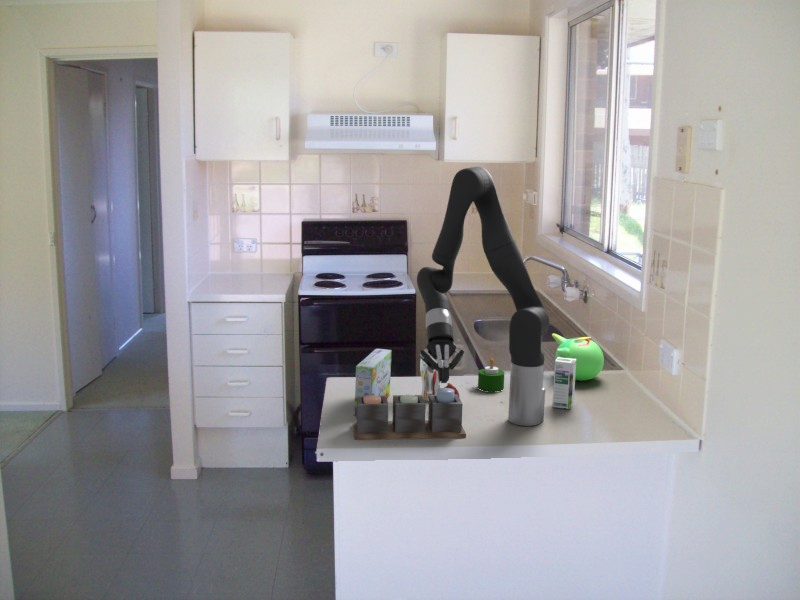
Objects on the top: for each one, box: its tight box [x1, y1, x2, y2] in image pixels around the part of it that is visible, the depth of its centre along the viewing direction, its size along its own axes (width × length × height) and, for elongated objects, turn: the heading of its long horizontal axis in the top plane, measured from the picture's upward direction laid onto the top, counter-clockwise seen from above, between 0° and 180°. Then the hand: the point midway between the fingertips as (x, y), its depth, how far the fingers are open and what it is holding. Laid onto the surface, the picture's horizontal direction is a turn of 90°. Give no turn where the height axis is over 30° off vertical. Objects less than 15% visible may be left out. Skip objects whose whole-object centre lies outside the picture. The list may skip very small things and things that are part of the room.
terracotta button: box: [363, 395, 381, 404], centre depth 228 cm, size 5×5×4 cm
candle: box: [477, 358, 505, 393], centre depth 268 cm, size 8×8×10 cm
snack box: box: [354, 348, 393, 416], centre depth 249 cm, size 21×6×15 cm, turn 166°
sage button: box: [400, 394, 418, 403], centre depth 229 cm, size 5×5×4 cm
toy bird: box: [551, 333, 605, 382], centre depth 280 cm, size 18×17×15 cm
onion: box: [443, 382, 460, 398], centre depth 249 cm, size 6×6×8 cm
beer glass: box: [419, 354, 443, 403], centre depth 256 cm, size 7×7×15 cm
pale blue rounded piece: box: [437, 387, 454, 403], centre depth 229 cm, size 5×5×4 cm
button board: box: [352, 394, 467, 441], centre depth 229 cm, size 30×11×9 cm, turn 96°
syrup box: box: [551, 357, 576, 410], centre depth 253 cm, size 6×6×14 cm
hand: (444, 381), depth 231 cm, fingers closed
